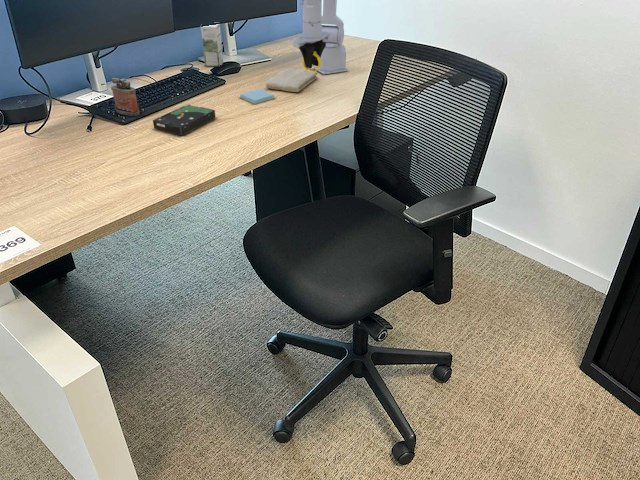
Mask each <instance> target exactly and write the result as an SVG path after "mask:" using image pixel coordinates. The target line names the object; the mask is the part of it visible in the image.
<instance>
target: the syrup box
mask: <svg viewBox="0 0 640 480" xmlns="http://www.w3.org/2000/svg"><path fill="white" fill-rule="evenodd" d="M220 24H221V23H220ZM220 24H216V25H209V26H203V27H201V26H200V33H201V34H200V35H201V41H202V42H201V43H202V50H203V51H202V52H203V59H204V66H205V67H216V68H217V67H218V68H219V67H221V66H222V65H223V64H224V56H223V47H222V34H221V25H220ZM220 65H221V66H220Z"/></svg>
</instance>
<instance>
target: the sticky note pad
mask: <svg viewBox="0 0 640 480" xmlns="http://www.w3.org/2000/svg"><path fill="white" fill-rule="evenodd" d="M239 96H240V99H242V100H245V101H247V102H249V103H251V104H252V105H253V104H254V105H256V104H260V103H264V102H267V101H270V100H274V99H275V94H272V93H270V92H267V91H266V90H263V89H260V88H258V89H254V90H249V91H247V92H242V93H240V94H239Z"/></svg>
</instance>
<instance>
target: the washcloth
mask: <svg viewBox="0 0 640 480" xmlns="http://www.w3.org/2000/svg"><path fill="white" fill-rule="evenodd" d="M317 73H318V72H317V71H316V72H312V71H308V70H302V69H298V68H289V67H287V68H285V69H283V70H279V71H278V72H277V73H276V74H274V75H272V77H269V78H268V79H267V81H266V83H265V87H266V88H267V89H272V90H279V91H284V92H291V93H299V92H300V91H302V90H304V88H306V87H307V86H308V85H309V84H311V83H312V82H314V81H315V80H317V78H318V76H317Z"/></svg>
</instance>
